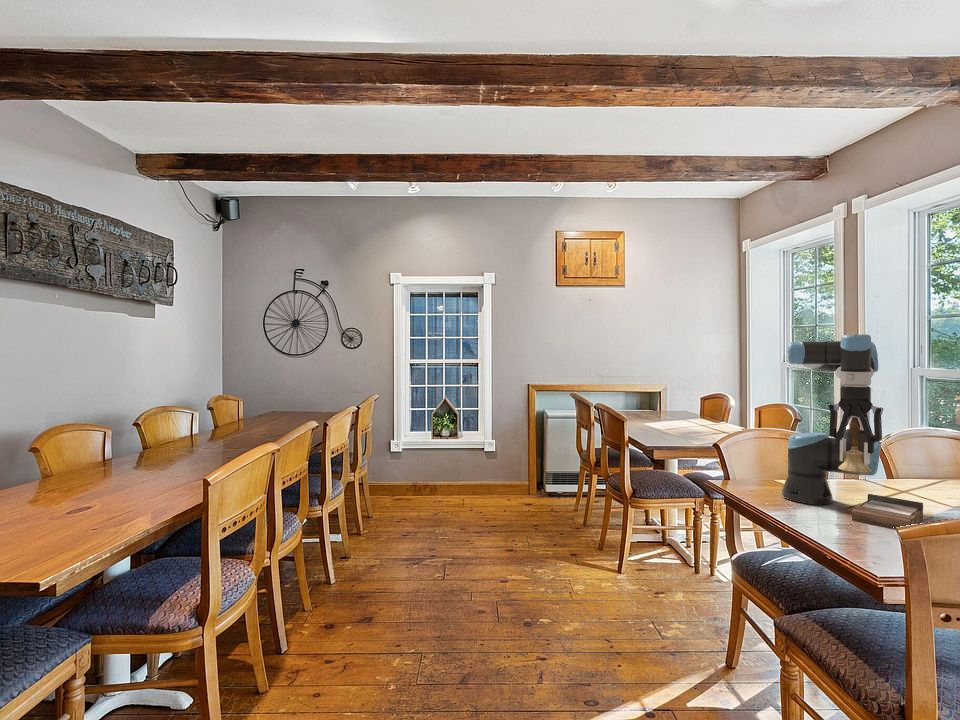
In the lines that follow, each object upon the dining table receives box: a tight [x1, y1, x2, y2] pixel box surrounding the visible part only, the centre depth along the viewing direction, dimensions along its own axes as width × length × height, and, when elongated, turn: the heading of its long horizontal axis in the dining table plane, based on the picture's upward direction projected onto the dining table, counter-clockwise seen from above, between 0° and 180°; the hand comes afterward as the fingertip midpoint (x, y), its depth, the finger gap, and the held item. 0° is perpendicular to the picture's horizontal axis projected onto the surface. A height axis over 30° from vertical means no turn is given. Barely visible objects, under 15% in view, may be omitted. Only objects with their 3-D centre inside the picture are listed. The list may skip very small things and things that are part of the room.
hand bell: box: [838, 417, 872, 473], centre depth 161 cm, size 8×8×16 cm
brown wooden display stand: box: [851, 493, 924, 529], centre depth 165 cm, size 18×14×5 cm
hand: (854, 462), depth 161 cm, fingers closed on hand bell, 5 cm apart
